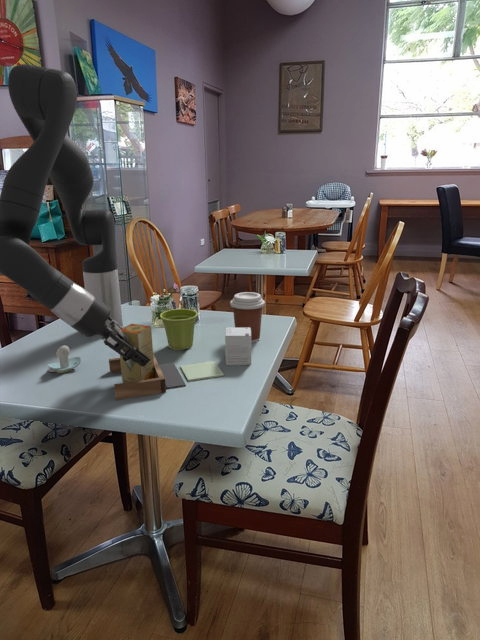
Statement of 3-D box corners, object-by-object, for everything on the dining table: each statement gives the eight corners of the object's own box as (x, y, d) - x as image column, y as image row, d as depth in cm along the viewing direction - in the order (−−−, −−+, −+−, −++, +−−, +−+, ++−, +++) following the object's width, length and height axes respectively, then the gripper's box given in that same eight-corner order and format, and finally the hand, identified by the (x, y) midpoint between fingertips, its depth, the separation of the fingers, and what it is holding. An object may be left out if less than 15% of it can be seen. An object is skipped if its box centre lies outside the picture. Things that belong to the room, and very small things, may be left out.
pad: (180, 367, 111) (180, 365, 111) (213, 362, 114) (213, 361, 114) (188, 381, 104) (188, 379, 104) (223, 375, 107) (223, 374, 106)
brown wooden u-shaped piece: (109, 371, 110) (108, 359, 109) (153, 365, 113) (153, 353, 112) (116, 400, 96) (114, 386, 95) (166, 392, 99) (165, 378, 98)
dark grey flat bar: (157, 367, 112) (157, 366, 112) (174, 364, 113) (174, 363, 113) (167, 388, 101) (166, 387, 101) (185, 385, 102) (185, 384, 102)
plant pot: (192, 354, 119) (191, 320, 116) (156, 351, 121) (154, 318, 118) (203, 341, 128) (202, 309, 125) (169, 339, 130) (167, 308, 127)
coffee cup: (266, 334, 133) (267, 291, 129) (262, 345, 124) (262, 300, 120) (234, 332, 134) (233, 290, 130) (227, 344, 126) (226, 299, 122)
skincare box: (226, 355, 118) (225, 327, 116) (251, 355, 118) (250, 326, 116) (225, 365, 112) (224, 335, 110) (251, 365, 112) (251, 335, 110)
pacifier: (43, 371, 111) (53, 378, 107) (38, 345, 109) (49, 351, 105) (73, 362, 116) (84, 368, 112) (69, 337, 114) (81, 343, 110)
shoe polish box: (135, 374, 108) (131, 323, 104) (154, 378, 106) (151, 326, 102) (122, 383, 103) (117, 330, 100) (142, 387, 102) (137, 333, 98)
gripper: (95, 305, 90) (161, 355, 97) (91, 287, 103) (150, 332, 110) (68, 335, 90) (137, 383, 97) (68, 314, 103) (128, 357, 110)
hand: (144, 356), depth 103 cm, fingers closed on shoe polish box, 7 cm apart
